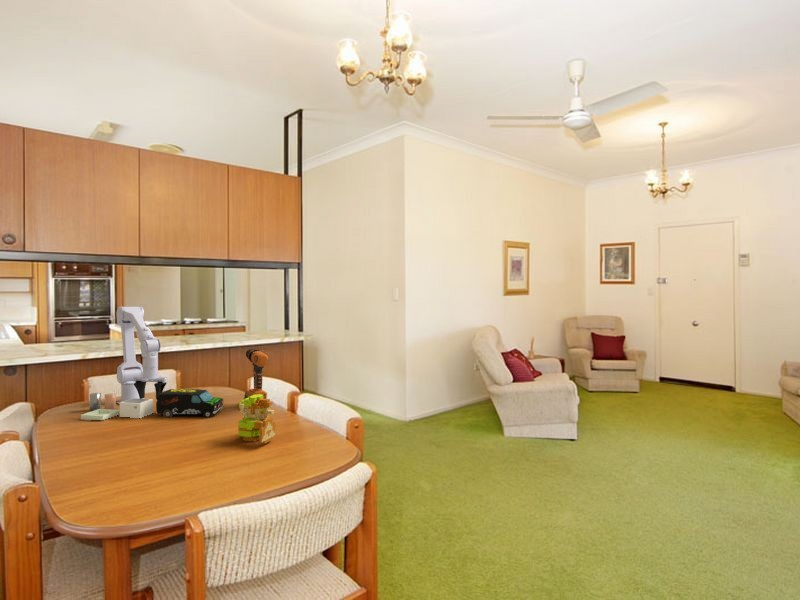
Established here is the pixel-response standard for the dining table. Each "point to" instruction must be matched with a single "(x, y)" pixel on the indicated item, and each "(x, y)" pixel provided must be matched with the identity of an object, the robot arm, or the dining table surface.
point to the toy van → (188, 402)
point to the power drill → (257, 371)
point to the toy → (256, 419)
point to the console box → (136, 408)
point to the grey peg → (95, 401)
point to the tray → (100, 414)
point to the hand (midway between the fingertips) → (150, 398)
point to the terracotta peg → (110, 401)
